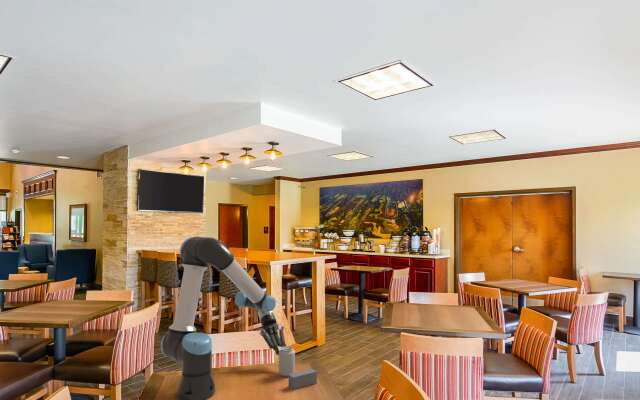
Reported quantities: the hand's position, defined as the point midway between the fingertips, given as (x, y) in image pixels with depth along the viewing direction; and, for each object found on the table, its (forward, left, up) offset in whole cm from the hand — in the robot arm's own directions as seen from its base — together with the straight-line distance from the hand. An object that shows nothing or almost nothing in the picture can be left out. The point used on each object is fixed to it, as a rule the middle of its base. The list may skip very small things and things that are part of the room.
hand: (282, 360), depth 189 cm
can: (-1, -5, -5) cm, 7 cm away
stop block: (-1, -19, -5) cm, 20 cm away
